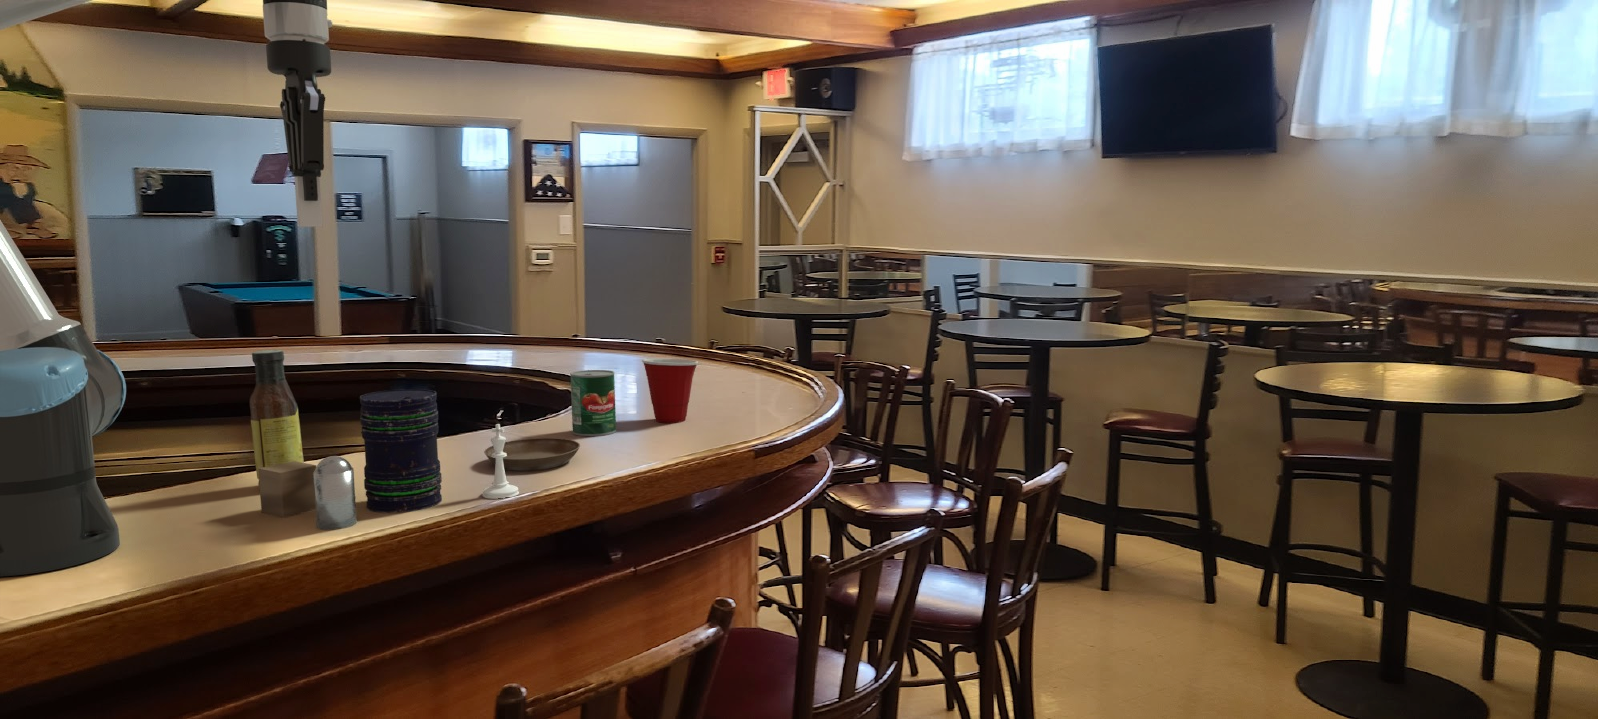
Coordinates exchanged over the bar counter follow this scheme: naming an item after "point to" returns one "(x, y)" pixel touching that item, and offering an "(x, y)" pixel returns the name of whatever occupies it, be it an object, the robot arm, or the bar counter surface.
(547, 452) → the saucer
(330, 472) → the metal shaker
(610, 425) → the canned tomato
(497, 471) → the chess piece
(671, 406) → the plastic cup
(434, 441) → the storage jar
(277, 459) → the sauce bottle
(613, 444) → the bar counter surface
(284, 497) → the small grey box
